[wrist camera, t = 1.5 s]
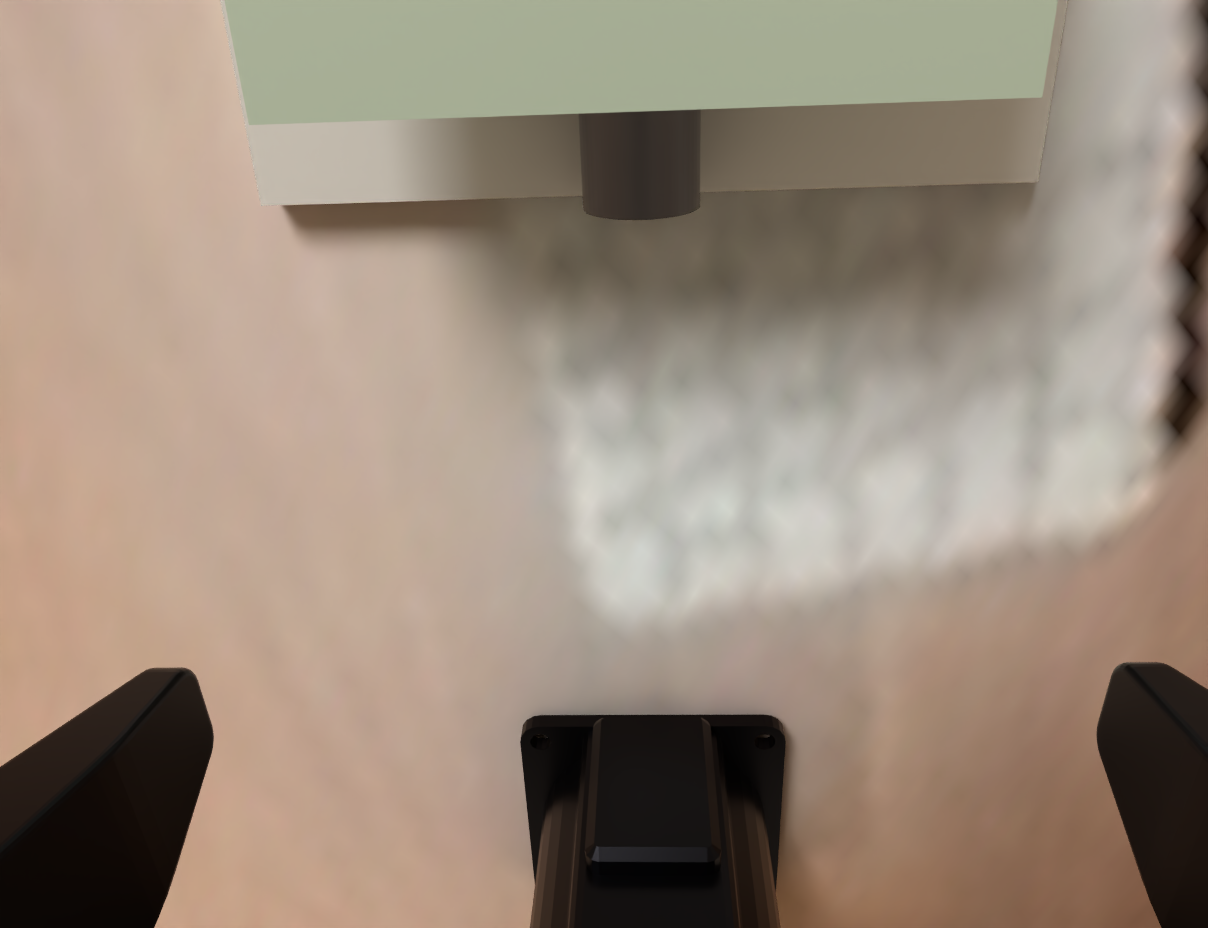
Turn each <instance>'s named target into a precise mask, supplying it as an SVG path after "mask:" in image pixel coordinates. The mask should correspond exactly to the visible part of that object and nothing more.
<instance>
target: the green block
mask: <svg viewBox="0 0 1208 928" xmlns="http://www.w3.org/2000/svg"><path fill="white" fill-rule="evenodd" d="M224 1H225V6H226V11H227V16H228V21H229V26H230V31H231V36H232V41H233V46H234V52H235V57H236V62H237V67H238V72H239V77H240V82H241V87H242V92H243V97H244V102H245V107H246V112H247V118H248V123H249V125H265V124H294V123H323V122H351V121H380V120H409V119H438V118H466V117H495V116H524V115H553V114H581V113H610V112H639V111H668V110H696V109H725V108H754V107H783V106H811V105H840V104H869V103H898V102H926V101H955V100H984V99H1013V98H1041V97H1042V96H1043V90H1044V84H1045V77H1046V71H1047V65H1048V59H1049V53H1050V46H1051V40H1052V34H1053V28H1054V22H1055V15H1056V9H1057V3H1058V0H224Z"/></svg>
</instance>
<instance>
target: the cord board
mask: <svg viewBox="0 0 1208 928" xmlns="http://www.w3.org/2000/svg"><path fill="white" fill-rule="evenodd" d="M220 2H221V7H222V12H223V17H224V22H225V28H226V33H227V38H228V43H229V48H230V53H231V58H232V63H233V68H234V73H235V78H236V83H237V88H238V93H239V98H240V103H241V108H242V113H243V118H244V123H245V128H246V133H247V138H248V143H249V148H250V153H251V158H252V163H253V168H254V173H255V178H256V183H257V188H258V193H259V198H260V204H261V206H273V205H306V204H339V203H372V202H405V201H438V200H471V199H504V198H537V197H570V196H582V198H583V210H584V212H586V213H587V214H589V215H592V216H596V217H601V218H608V219H618V220H649V219H661V218H669V217H675V216H680V215H684V214H688V213H691V212H693V211H695V210H697V209H698V208H699V207H700V193H701V192H734V191H767V190H800V189H833V188H866V187H898V186H931V185H964V184H997V183H1030V182H1038V179H1039V173H1040V167H1041V161H1042V155H1043V149H1044V143H1045V137H1046V131H1047V125H1048V119H1049V113H1050V107H1051V101H1052V95H1053V88H1054V82H1055V76H1056V70H1057V64H1058V58H1059V52H1060V46H1061V40H1062V34H1063V28H1064V22H1065V16H1066V10H1067V4H1068V0H1058V3H1057V9H1056V15H1055V22H1054V28H1053V34H1052V40H1051V46H1050V53H1049V59H1048V65H1047V71H1046V77H1045V84H1044V90H1043V96H1042V97H1041V98H1013V99H984V100H955V101H926V102H898V103H869V104H840V105H811V106H783V107H754V108H725V109H696V110H668V111H639V112H610V113H581V114H553V115H524V116H495V117H466V118H438V119H409V120H380V121H351V122H323V123H294V124H265V125H249V123H248V118H247V112H246V107H245V102H244V97H243V92H242V87H241V82H240V77H239V72H238V67H237V62H236V57H235V52H234V46H233V41H232V36H231V31H230V26H229V21H228V16H227V11H226V6H225V1H224V0H220Z"/></svg>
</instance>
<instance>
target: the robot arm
mask: <svg viewBox="0 0 1208 928" xmlns="http://www.w3.org/2000/svg"><path fill="white" fill-rule="evenodd" d="M538 734H542V735H546V736H547V737H548V738H538V737H536V736H535V735H538ZM761 734H769V735H770V736H769V737H766V738H759V737H758V736H759V735H761ZM213 739H214V736H213V728H212V724H211V721H210V718H209V714H208V711H207V708H206V705H205V702H204V699H203V695H202V692H201V689H200V686H199V683H198V680H197V678H196V675H195V674H194V673H193V672H192V671H191V670H189V669H187V668H151V669H148V670H145V671H144V672H142V673H140V674H139V675H137V676H136V677H134V678H133V679H131V680H130V681H128V682H127V683H125V684H124V685H122V686H121V687H119V688H118V689H116V690H115V691H113V692H112V693H110V694H109V695H107V696H106V697H104V698H103V699H101V700H100V701H98V702H97V703H95V704H94V705H92V706H91V707H89V708H88V709H86V710H85V711H83V712H82V713H80V714H79V715H77V716H76V717H74V718H73V719H71V720H70V721H68V722H67V723H65V724H64V725H62V726H61V727H59V728H58V729H56V730H55V731H53V732H52V733H50V734H49V735H47V736H46V737H44V738H43V739H41V740H40V741H38V742H37V743H35V744H34V745H32V746H31V747H29V748H28V749H26V750H25V751H23V752H22V753H20V754H19V755H17V756H16V757H14V758H13V759H11V760H10V761H8V762H7V763H5V764H4V765H2V766H1V767H0V928H154V927H155V924H156V922H157V920H158V917H159V915H160V912H161V910H162V907H163V905H164V902H165V900H166V897H167V895H168V892H169V889H170V886H171V883H172V880H173V877H174V874H175V871H176V868H177V864H178V861H179V858H180V855H181V851H182V848H183V845H184V842H185V838H186V835H187V832H188V829H189V825H190V822H191V819H192V816H193V812H194V809H195V806H196V803H197V799H198V796H199V793H200V789H201V786H202V783H203V780H204V776H205V773H206V770H207V767H208V763H209V760H210V757H211V753H212V749H213ZM520 743H521V752H522V762H523V772H524V782H525V791H526V801H527V811H528V821H529V830H530V840H531V850H532V860H533V870H534V879H535V890H534V899H533V907H532V915H531V924H530V928H781V927H780V920H779V913H778V906H777V899H776V880H777V865H778V850H779V834H780V819H781V803H782V788H783V773H784V757H785V736H784V731H783V726H782V723H781V722H780V721H779V720H778V719H777V718H775V717H773V716H769V715H540V716H534V717H531V718H530V719H528V720H527V721H526V722H525V723H524V725H523V729H522V736H521V742H520ZM1097 744H1098V750H1099V753H1100V756H1101V759H1102V762H1103V765H1104V768H1105V771H1106V774H1107V777H1108V780H1109V783H1110V786H1111V789H1112V792H1113V795H1114V798H1115V801H1116V804H1117V807H1118V810H1119V813H1120V816H1121V819H1122V822H1123V825H1124V827H1125V830H1126V833H1127V836H1128V839H1129V842H1130V845H1131V848H1132V851H1133V854H1134V857H1135V860H1136V863H1137V866H1138V869H1139V872H1140V875H1141V878H1142V881H1143V883H1144V886H1145V889H1146V891H1147V894H1148V897H1149V900H1150V902H1151V904H1152V907H1153V909H1154V911H1155V914H1156V916H1157V918H1158V921H1159V923H1160V925H1161V928H1208V689H1206V688H1205V687H1203V686H1201V685H1200V684H1198V683H1197V682H1195V681H1193V680H1192V679H1190V678H1189V677H1187V676H1185V675H1184V674H1182V673H1181V672H1179V671H1177V670H1176V669H1174V668H1173V667H1171V666H1169V665H1167V664H1164V663H1158V662H1126V663H1122V664H1120V665H1118V666H1117V667H1116V668H1115V669H1114V671H1113V673H1112V676H1111V679H1110V682H1109V686H1108V689H1107V693H1106V696H1105V700H1104V704H1103V707H1102V711H1101V714H1100V718H1099V721H1098V726H1097Z"/></svg>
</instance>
